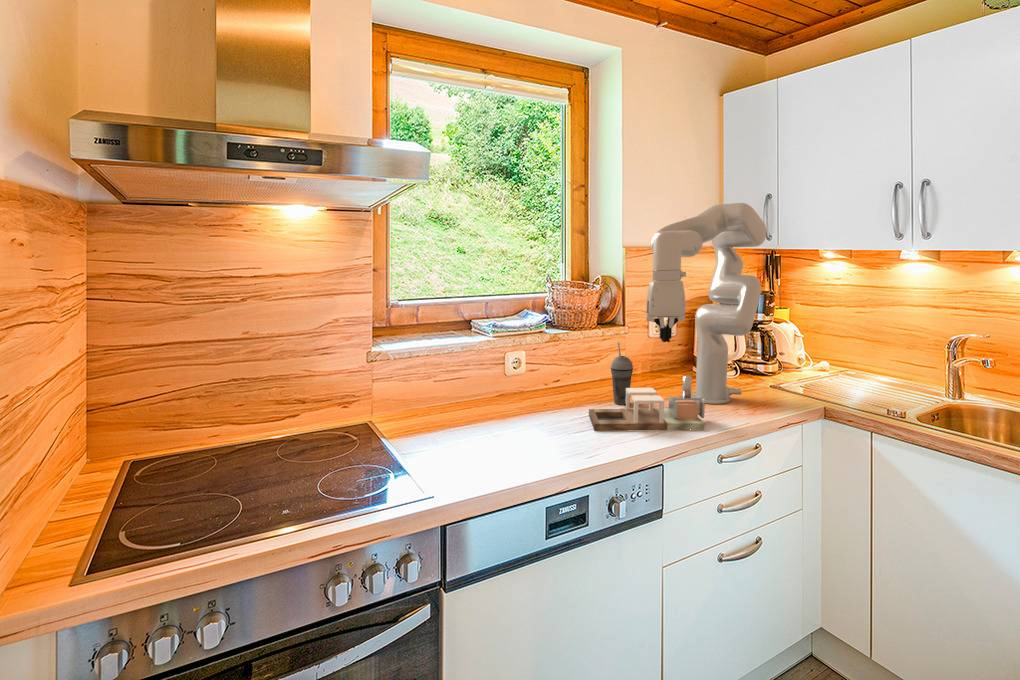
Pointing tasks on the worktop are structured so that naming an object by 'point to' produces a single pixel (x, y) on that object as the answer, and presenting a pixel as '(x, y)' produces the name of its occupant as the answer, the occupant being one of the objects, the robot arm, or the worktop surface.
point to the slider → (686, 398)
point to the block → (687, 409)
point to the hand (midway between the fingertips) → (665, 341)
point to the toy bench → (644, 401)
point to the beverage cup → (621, 377)
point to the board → (639, 420)
